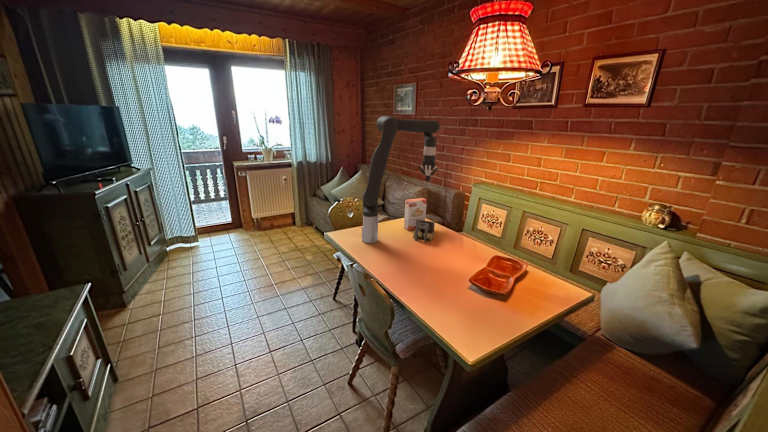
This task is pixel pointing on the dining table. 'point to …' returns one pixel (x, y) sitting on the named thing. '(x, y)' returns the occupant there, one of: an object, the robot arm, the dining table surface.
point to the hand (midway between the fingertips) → (427, 181)
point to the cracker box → (414, 212)
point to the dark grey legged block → (424, 228)
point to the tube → (422, 234)
